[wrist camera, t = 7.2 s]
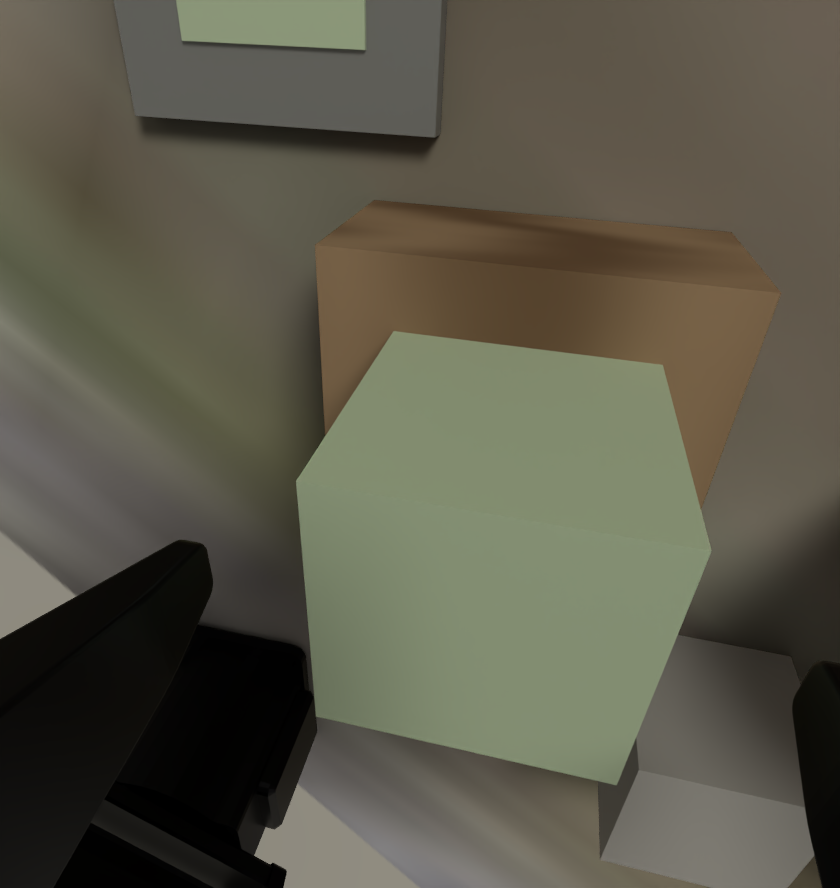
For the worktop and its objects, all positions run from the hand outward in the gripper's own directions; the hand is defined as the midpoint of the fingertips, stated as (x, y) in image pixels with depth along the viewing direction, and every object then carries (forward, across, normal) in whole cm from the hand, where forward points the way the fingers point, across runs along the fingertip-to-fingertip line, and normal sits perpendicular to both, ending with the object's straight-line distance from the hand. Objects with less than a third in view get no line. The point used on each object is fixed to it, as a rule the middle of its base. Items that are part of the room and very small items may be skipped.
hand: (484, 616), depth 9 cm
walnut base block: (+8, 0, 0) cm, 8 cm away
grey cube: (+8, -7, +11) cm, 16 cm away
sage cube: (+4, 0, 0) cm, 4 cm away
